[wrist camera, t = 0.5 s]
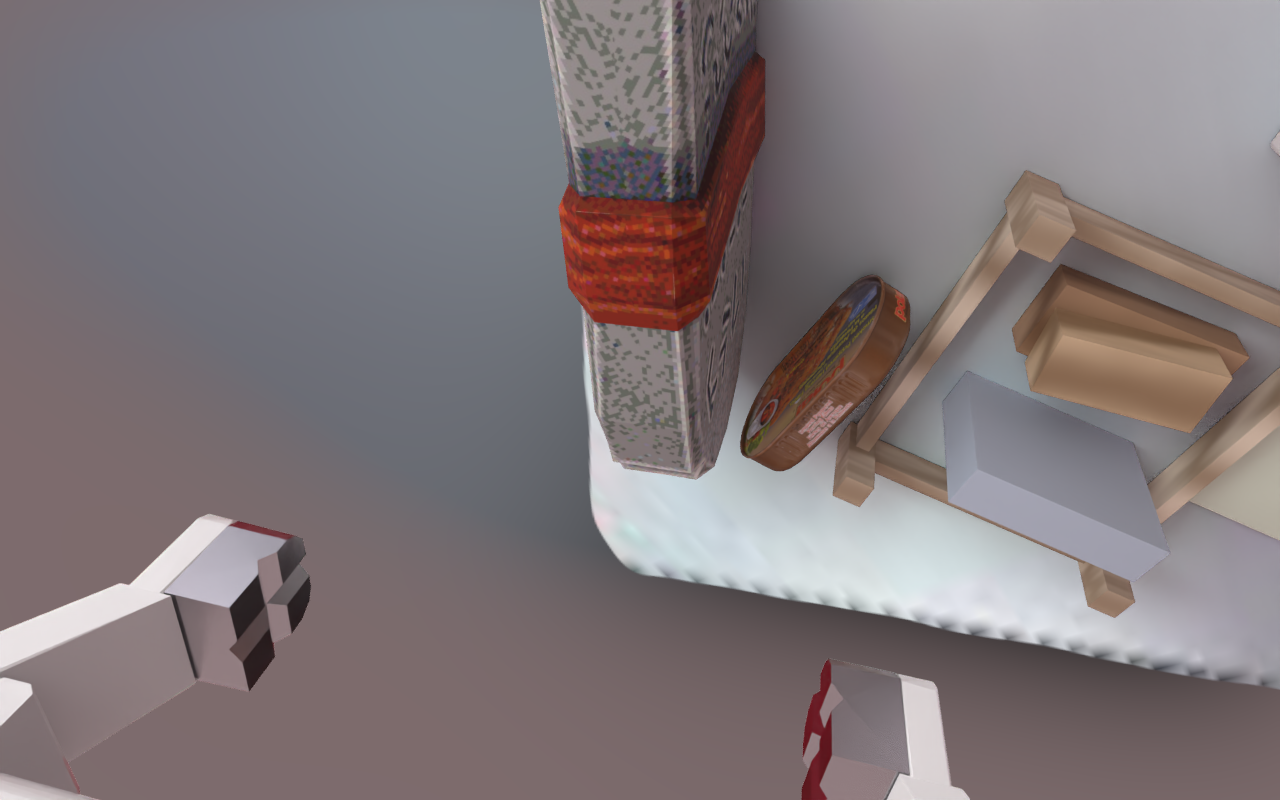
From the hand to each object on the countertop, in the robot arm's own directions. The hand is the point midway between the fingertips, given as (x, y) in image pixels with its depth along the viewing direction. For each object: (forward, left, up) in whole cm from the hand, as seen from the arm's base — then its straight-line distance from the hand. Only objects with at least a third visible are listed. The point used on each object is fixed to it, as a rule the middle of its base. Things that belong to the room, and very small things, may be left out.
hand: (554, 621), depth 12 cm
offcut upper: (+9, +25, -38) cm, 46 cm away
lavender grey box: (+17, +25, -41) cm, 51 cm away
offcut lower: (+9, +25, -41) cm, 49 cm away
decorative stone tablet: (+9, -2, -41) cm, 42 cm away
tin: (+18, +10, -41) cm, 46 cm away
